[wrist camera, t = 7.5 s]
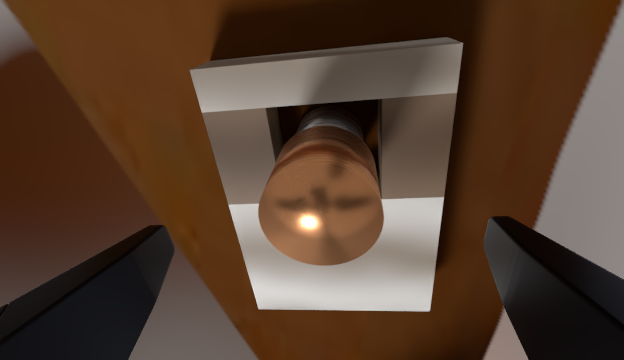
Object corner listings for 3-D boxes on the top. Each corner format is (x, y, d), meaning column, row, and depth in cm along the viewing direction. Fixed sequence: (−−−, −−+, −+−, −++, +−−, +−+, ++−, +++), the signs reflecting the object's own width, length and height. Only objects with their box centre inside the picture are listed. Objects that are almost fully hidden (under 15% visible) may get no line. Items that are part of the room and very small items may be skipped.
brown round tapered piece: (353, 180, 16) (357, 278, 10) (283, 159, 16) (248, 247, 10) (381, 112, 14) (405, 187, 9) (302, 87, 14) (272, 147, 8)
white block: (422, 283, 19) (429, 311, 17) (265, 283, 21) (258, 309, 19) (446, 36, 12) (463, 43, 11) (209, 61, 14) (189, 69, 12)
